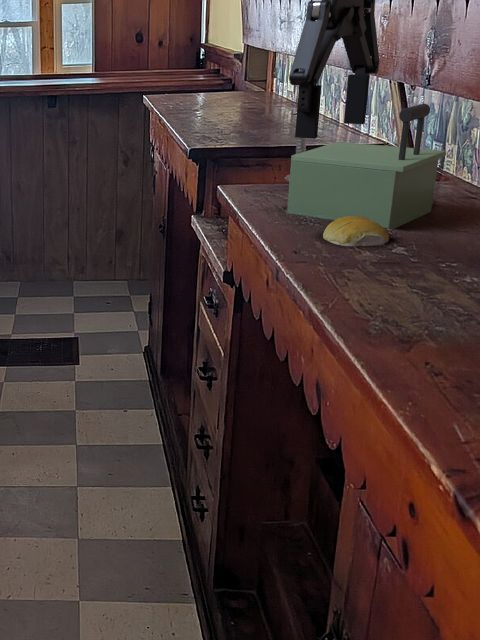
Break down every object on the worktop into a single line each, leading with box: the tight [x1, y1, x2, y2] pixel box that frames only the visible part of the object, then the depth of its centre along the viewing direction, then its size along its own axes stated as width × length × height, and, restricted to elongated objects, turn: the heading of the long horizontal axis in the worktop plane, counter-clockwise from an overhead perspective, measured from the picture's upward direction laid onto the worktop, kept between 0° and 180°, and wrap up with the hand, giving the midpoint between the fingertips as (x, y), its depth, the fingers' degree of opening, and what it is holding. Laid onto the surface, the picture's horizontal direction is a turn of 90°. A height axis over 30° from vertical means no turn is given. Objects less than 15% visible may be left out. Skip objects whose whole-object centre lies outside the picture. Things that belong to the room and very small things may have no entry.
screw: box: [284, 137, 308, 183], centre depth 155 cm, size 13×5×5 cm
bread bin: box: [286, 159, 439, 230], centre depth 137 cm, size 17×15×9 cm
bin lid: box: [290, 103, 447, 172], centre depth 134 cm, size 18×15×8 cm
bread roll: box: [322, 216, 390, 247], centre depth 123 cm, size 8×9×4 cm
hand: (330, 130), depth 116 cm, fingers open, 13 cm apart
